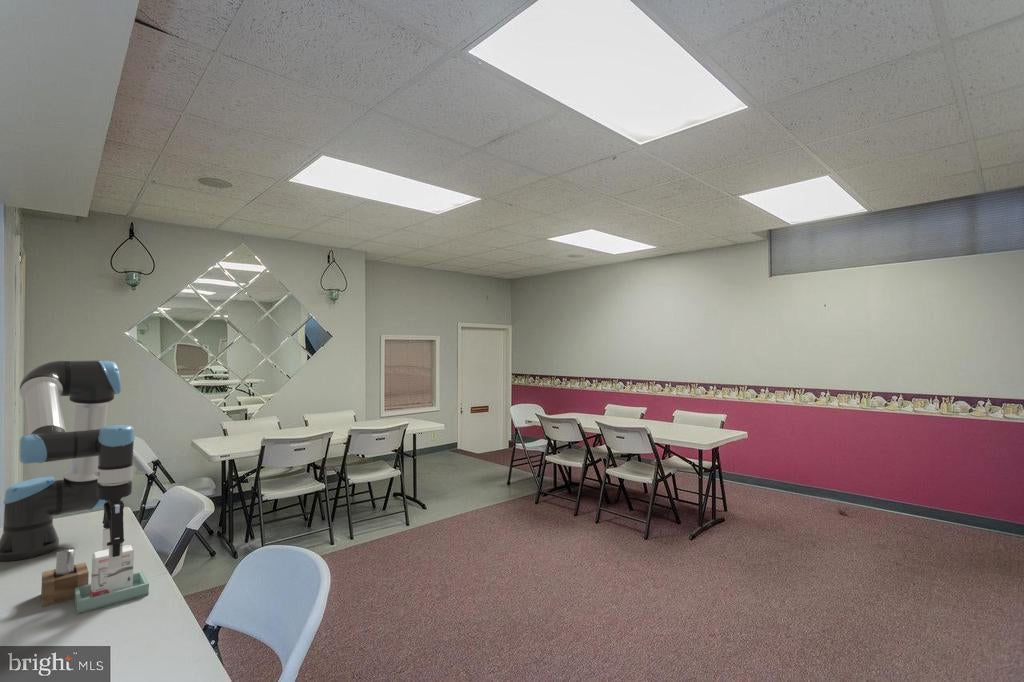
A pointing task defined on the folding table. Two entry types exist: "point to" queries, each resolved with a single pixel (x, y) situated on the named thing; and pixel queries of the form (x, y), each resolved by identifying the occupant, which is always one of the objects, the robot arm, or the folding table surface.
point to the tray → (110, 595)
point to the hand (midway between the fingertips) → (111, 559)
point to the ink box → (111, 572)
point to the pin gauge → (65, 562)
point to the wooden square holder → (62, 584)
